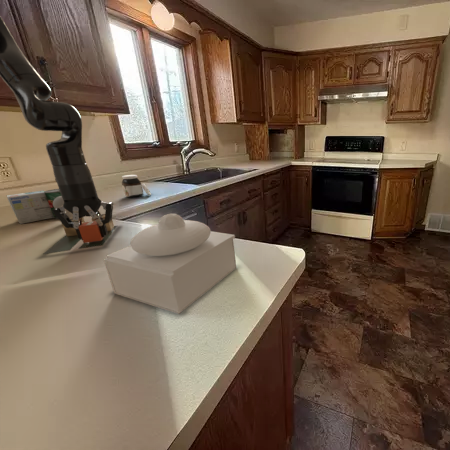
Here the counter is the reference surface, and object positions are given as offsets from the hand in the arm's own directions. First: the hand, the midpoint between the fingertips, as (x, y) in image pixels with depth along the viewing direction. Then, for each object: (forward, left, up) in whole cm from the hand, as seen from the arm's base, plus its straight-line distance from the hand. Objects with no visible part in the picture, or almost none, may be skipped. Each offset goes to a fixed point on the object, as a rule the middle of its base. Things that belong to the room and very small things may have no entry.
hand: (94, 237), depth 73 cm
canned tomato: (-21, +43, -2) cm, 48 cm away
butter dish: (+24, -33, -3) cm, 41 cm away
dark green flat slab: (-4, +5, -2) cm, 7 cm away
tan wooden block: (0, +11, -1) cm, 11 cm away
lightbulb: (-15, +28, -3) cm, 32 cm away
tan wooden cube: (-8, +11, -1) cm, 13 cm away
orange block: (0, 0, 0) cm, 0 cm away
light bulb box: (-30, +42, -2) cm, 52 cm away
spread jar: (+1, +71, -3) cm, 71 cm away
